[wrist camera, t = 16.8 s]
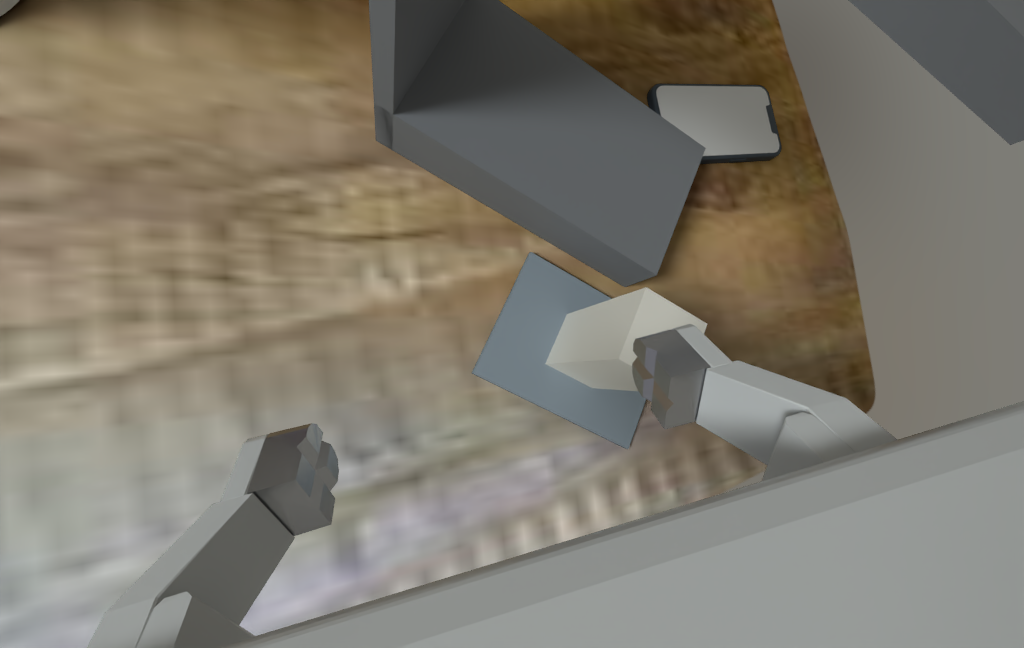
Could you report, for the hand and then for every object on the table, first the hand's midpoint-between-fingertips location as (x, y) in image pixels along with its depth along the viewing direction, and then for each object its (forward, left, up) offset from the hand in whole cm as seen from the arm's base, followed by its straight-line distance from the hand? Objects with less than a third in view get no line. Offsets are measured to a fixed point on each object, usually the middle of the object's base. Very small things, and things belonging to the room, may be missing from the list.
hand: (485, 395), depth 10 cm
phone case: (+16, +39, -25) cm, 49 cm away
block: (+12, +8, -23) cm, 27 cm away
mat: (+12, +8, -24) cm, 28 cm away
